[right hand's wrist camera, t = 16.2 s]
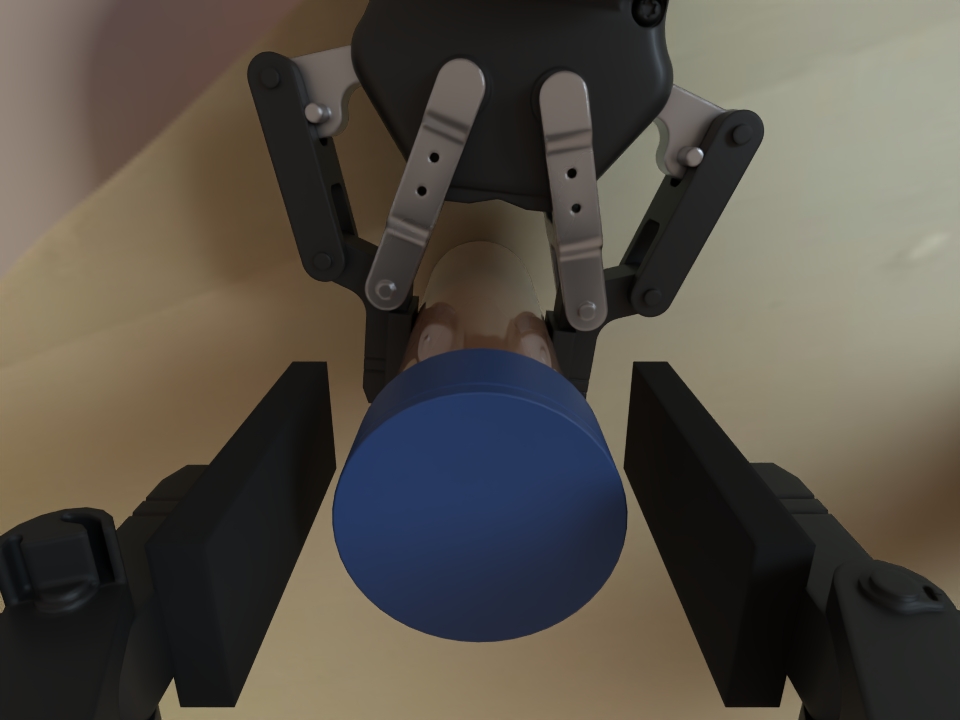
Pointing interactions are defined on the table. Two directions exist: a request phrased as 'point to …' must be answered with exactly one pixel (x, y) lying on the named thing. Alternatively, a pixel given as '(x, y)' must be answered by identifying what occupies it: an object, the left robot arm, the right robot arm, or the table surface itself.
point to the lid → (479, 498)
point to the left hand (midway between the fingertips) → (471, 418)
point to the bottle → (480, 308)
